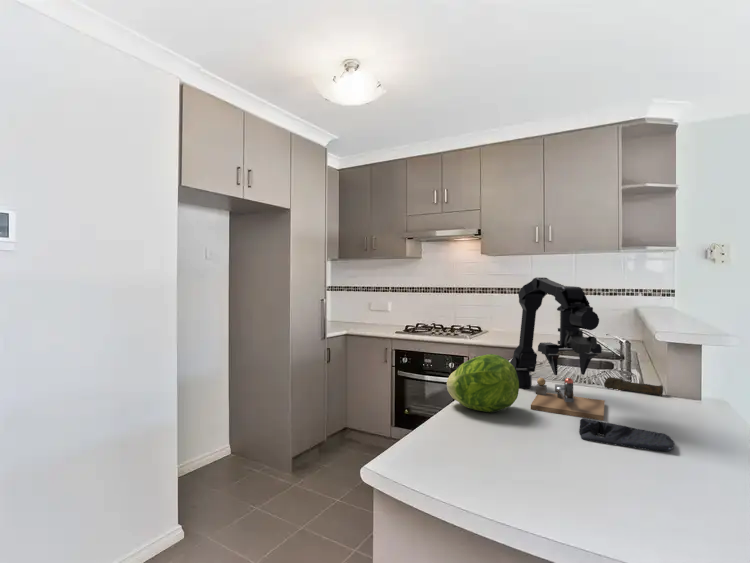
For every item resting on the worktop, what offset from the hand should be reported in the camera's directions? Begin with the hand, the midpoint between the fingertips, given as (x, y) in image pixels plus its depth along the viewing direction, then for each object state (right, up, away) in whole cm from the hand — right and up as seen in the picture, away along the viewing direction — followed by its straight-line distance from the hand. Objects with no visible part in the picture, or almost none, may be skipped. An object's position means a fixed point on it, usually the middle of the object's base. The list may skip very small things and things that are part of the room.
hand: (569, 374), depth 134 cm
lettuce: (-27, -12, +3) cm, 30 cm away
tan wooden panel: (+2, -12, +6) cm, 14 cm away
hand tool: (+36, -13, +25) cm, 45 cm away
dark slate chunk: (+5, -13, -21) cm, 25 cm away
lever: (+2, -9, +7) cm, 12 cm away
